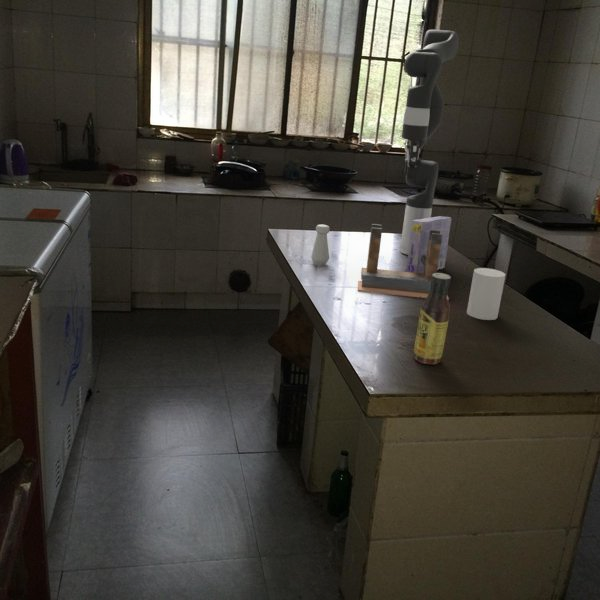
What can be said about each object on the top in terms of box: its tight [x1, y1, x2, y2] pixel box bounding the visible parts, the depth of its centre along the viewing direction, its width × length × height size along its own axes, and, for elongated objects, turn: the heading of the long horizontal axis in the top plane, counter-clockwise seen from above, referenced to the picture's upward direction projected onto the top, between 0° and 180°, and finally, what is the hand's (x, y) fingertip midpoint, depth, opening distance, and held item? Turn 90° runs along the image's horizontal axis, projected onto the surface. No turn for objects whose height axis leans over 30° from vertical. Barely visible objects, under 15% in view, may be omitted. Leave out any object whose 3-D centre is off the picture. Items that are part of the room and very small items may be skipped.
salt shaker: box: [310, 224, 331, 267], centre depth 210 cm, size 6×6×13 cm
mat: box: [357, 280, 450, 301], centre depth 191 cm, size 26×9×1 cm, turn 85°
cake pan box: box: [405, 215, 452, 274], centre depth 212 cm, size 19×5×18 cm, turn 139°
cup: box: [466, 267, 506, 321], centre depth 175 cm, size 8×8×12 cm
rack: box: [360, 223, 442, 280], centre depth 200 cm, size 24×8×16 cm, turn 85°
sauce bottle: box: [413, 272, 452, 366], centre depth 140 cm, size 6×6×20 cm
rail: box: [361, 272, 431, 294], centre depth 190 cm, size 24×3×4 cm, turn 85°
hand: (409, 177), depth 201 cm, fingers open, 8 cm apart
